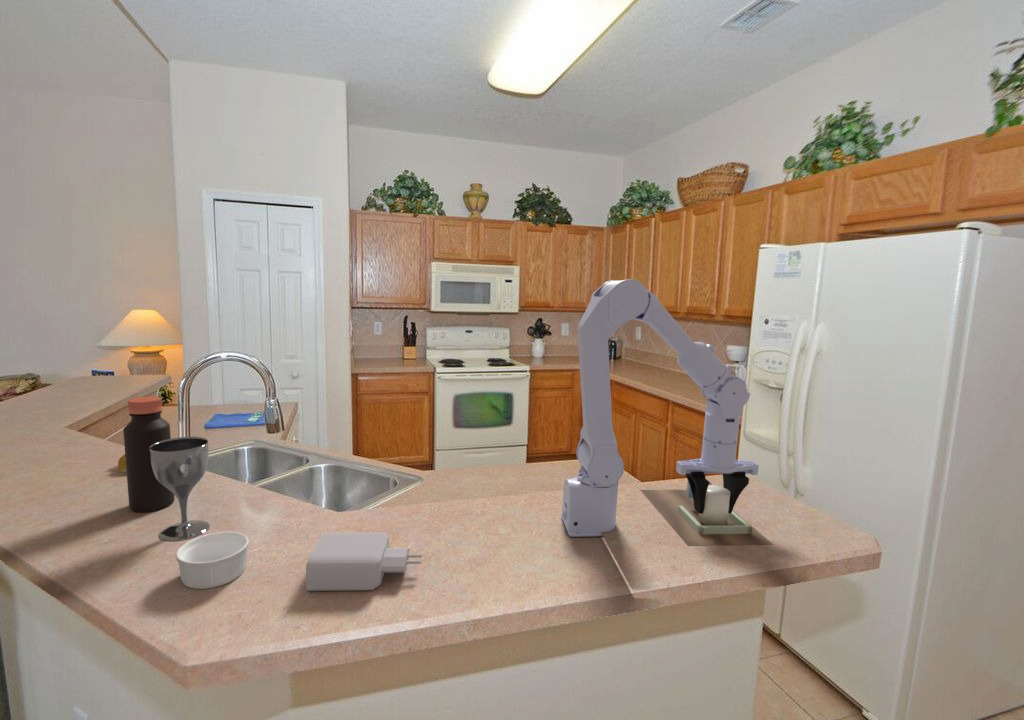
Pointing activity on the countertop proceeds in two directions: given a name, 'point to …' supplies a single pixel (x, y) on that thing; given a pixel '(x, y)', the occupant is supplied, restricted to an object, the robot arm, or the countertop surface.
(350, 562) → the charger
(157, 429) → the bottle
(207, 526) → the wine glass
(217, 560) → the ramekin
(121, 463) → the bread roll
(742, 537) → the board
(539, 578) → the countertop surface
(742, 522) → the cradle
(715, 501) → the white blue t-bar grip
